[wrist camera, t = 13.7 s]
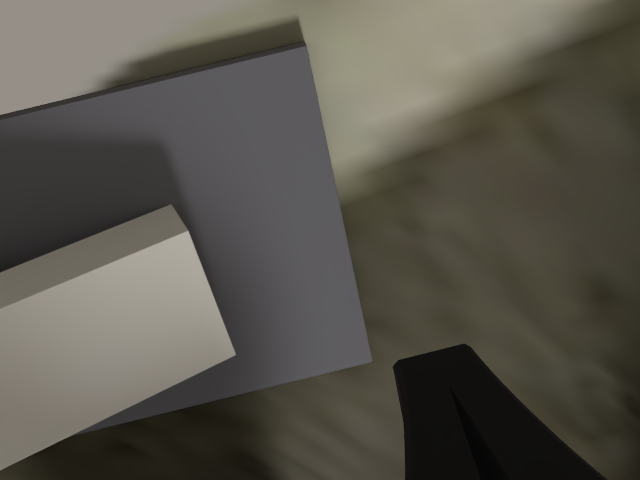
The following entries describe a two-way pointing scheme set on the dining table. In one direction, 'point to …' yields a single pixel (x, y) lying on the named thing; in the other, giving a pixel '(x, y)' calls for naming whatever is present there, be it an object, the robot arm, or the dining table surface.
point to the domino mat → (203, 208)
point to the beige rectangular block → (102, 330)
